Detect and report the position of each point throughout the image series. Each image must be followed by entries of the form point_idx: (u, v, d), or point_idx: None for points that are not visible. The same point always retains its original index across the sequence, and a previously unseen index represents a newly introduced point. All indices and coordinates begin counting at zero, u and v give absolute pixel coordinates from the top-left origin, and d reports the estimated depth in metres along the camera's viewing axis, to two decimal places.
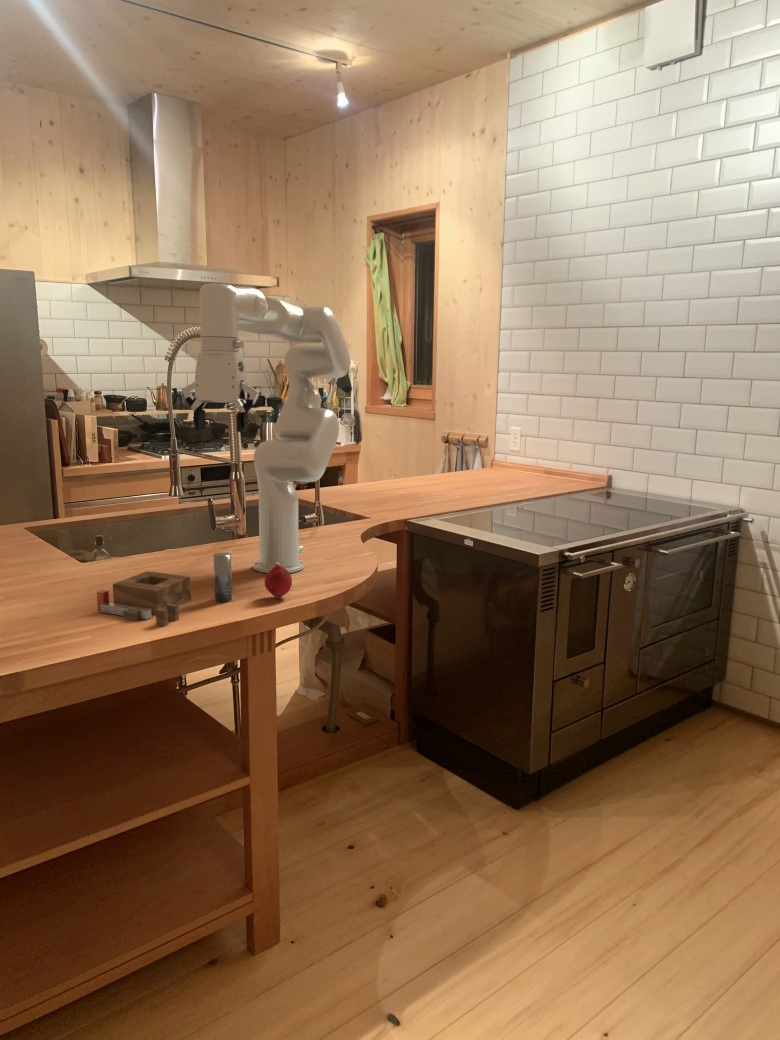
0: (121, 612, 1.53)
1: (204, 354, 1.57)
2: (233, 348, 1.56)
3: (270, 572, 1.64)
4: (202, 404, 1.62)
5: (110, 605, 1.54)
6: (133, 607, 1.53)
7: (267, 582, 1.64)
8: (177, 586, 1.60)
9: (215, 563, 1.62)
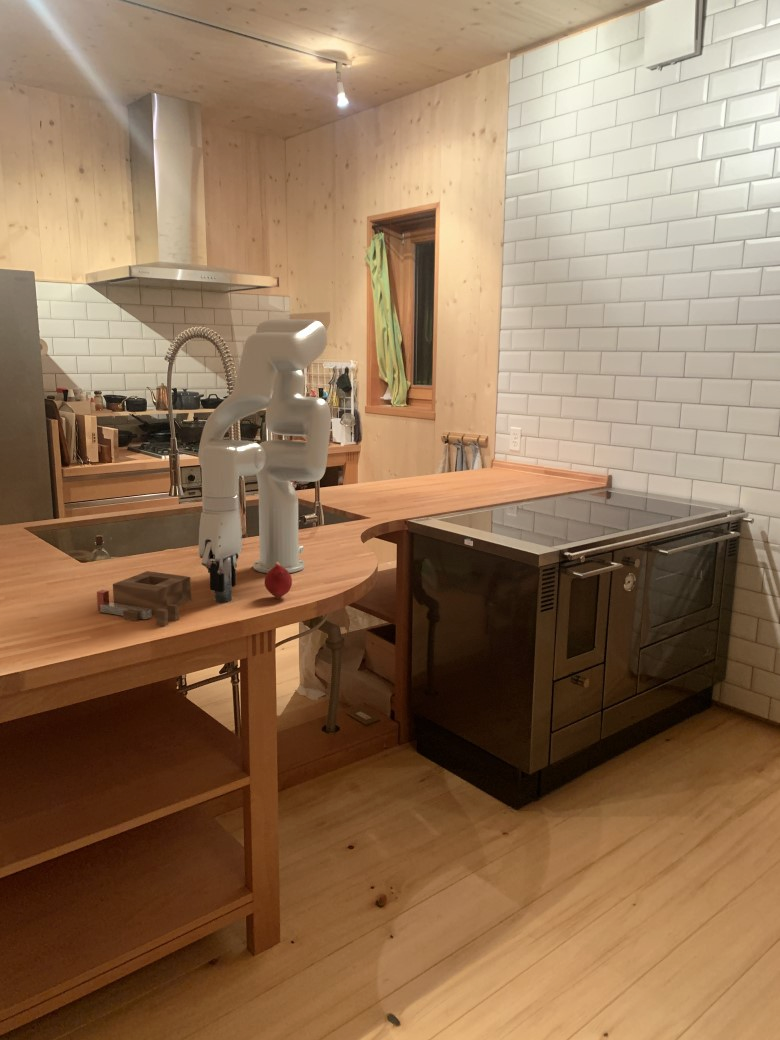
0: (121, 612, 1.53)
1: (225, 514, 1.58)
2: None
3: (270, 572, 1.64)
4: None
5: (110, 605, 1.54)
6: (133, 607, 1.53)
7: (267, 582, 1.64)
8: (177, 586, 1.60)
9: (215, 563, 1.62)
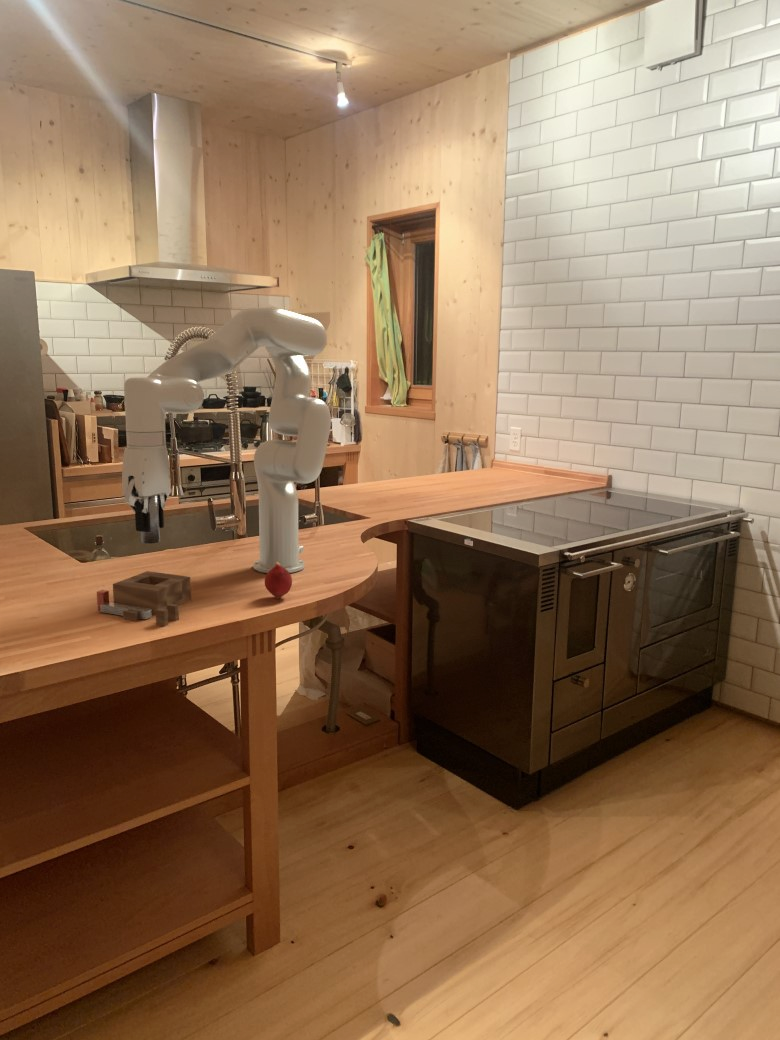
0: (121, 612, 1.53)
1: (149, 449, 1.52)
2: None
3: (270, 572, 1.64)
4: None
5: (110, 605, 1.54)
6: (133, 607, 1.53)
7: (267, 582, 1.64)
8: (177, 586, 1.60)
9: (141, 502, 1.56)
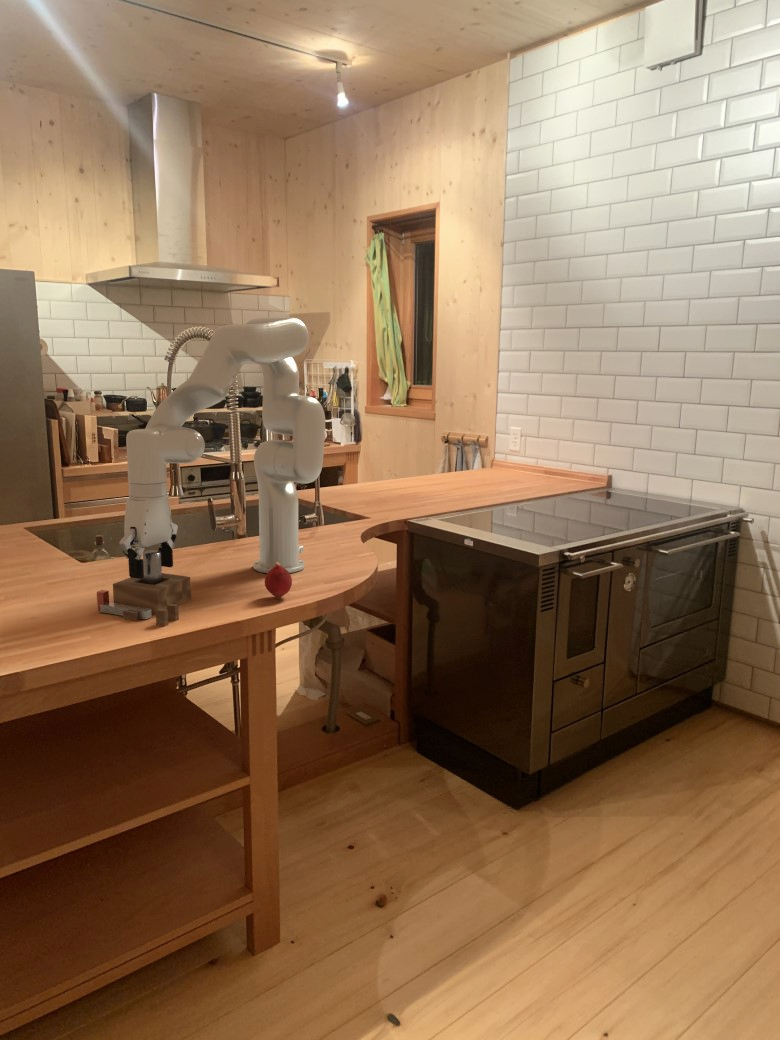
0: (121, 612, 1.53)
1: (151, 500, 1.54)
2: None
3: (270, 572, 1.64)
4: None
5: (110, 605, 1.54)
6: (133, 607, 1.53)
7: (267, 582, 1.64)
8: (177, 586, 1.60)
9: (144, 561, 1.58)
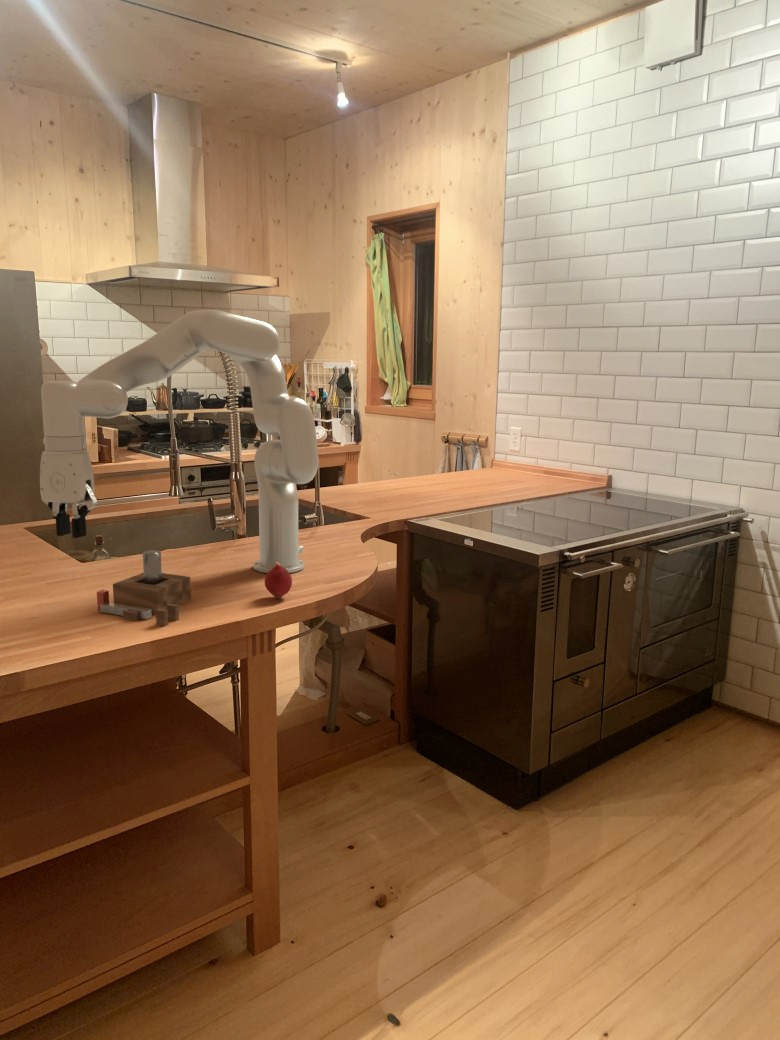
0: (121, 612, 1.53)
1: None
2: None
3: (270, 572, 1.64)
4: None
5: (110, 605, 1.54)
6: (133, 607, 1.53)
7: (267, 582, 1.64)
8: (177, 586, 1.60)
9: (144, 561, 1.58)
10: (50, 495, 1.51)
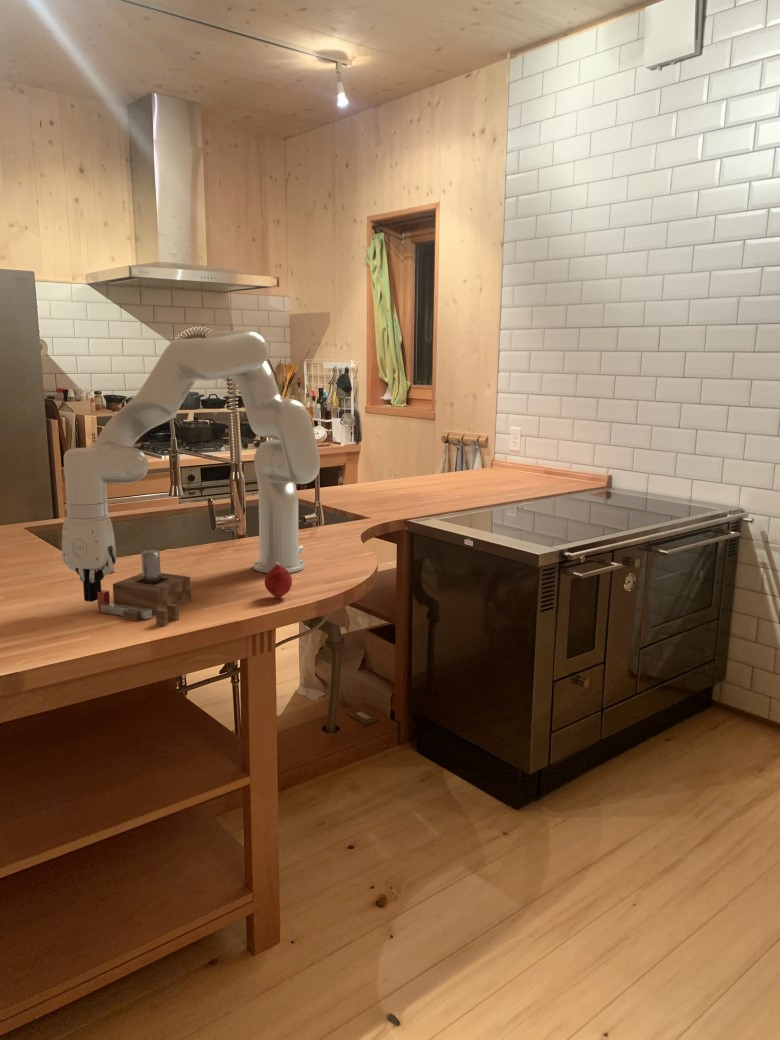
0: (122, 612, 1.53)
1: None
2: None
3: (270, 572, 1.64)
4: None
5: (111, 605, 1.54)
6: (133, 607, 1.53)
7: (267, 582, 1.64)
8: (177, 586, 1.60)
9: (143, 561, 1.58)
10: (72, 561, 1.52)
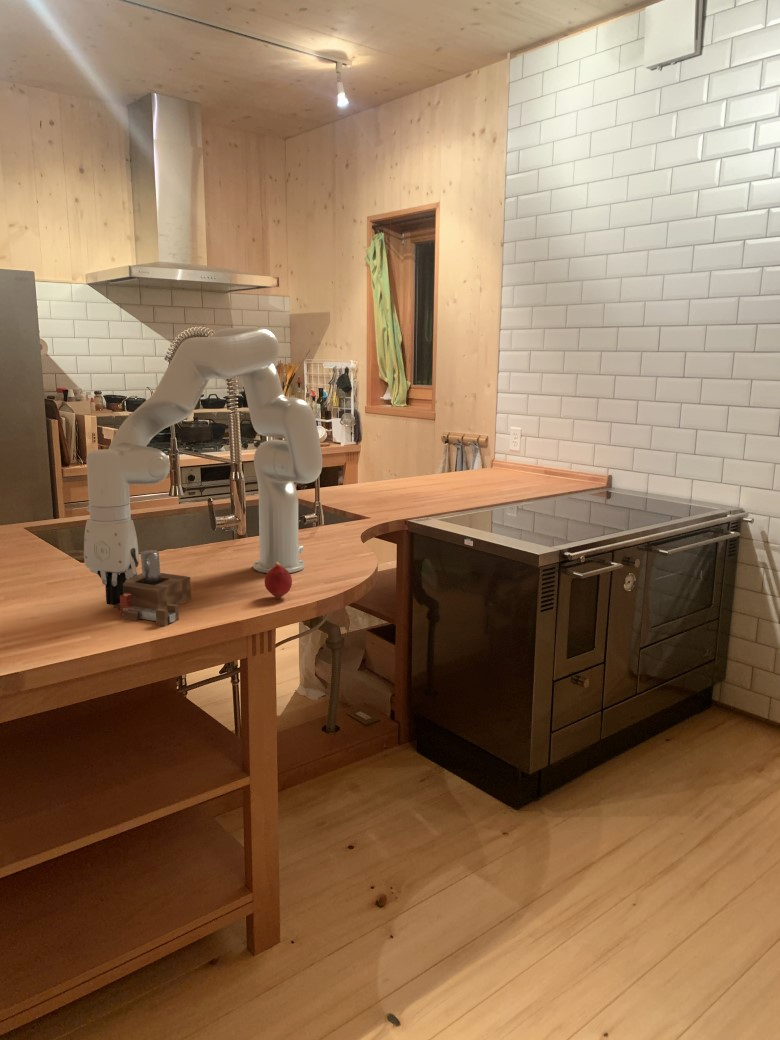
0: (145, 616, 1.51)
1: None
2: None
3: (270, 572, 1.64)
4: None
5: (133, 609, 1.52)
6: None
7: (267, 582, 1.64)
8: (177, 586, 1.60)
9: (142, 561, 1.58)
10: (95, 564, 1.51)
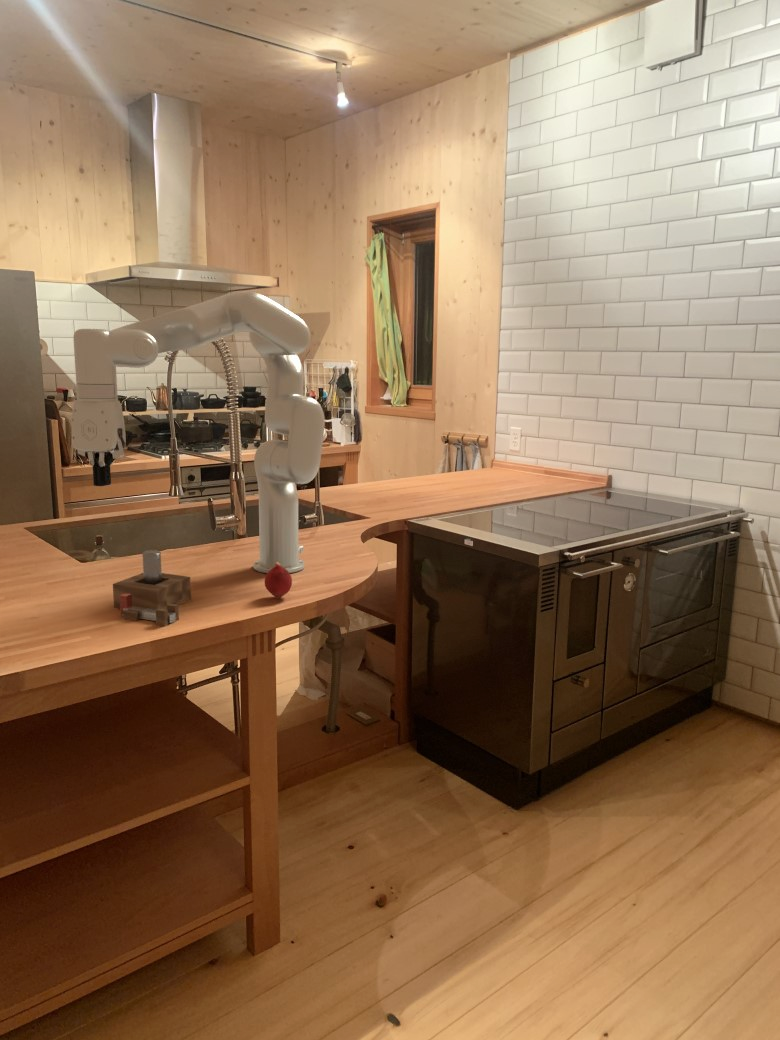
0: (145, 616, 1.51)
1: None
2: None
3: (270, 572, 1.64)
4: None
5: (133, 609, 1.52)
6: None
7: (267, 582, 1.64)
8: (177, 586, 1.60)
9: (145, 562, 1.58)
10: (82, 443, 1.52)
